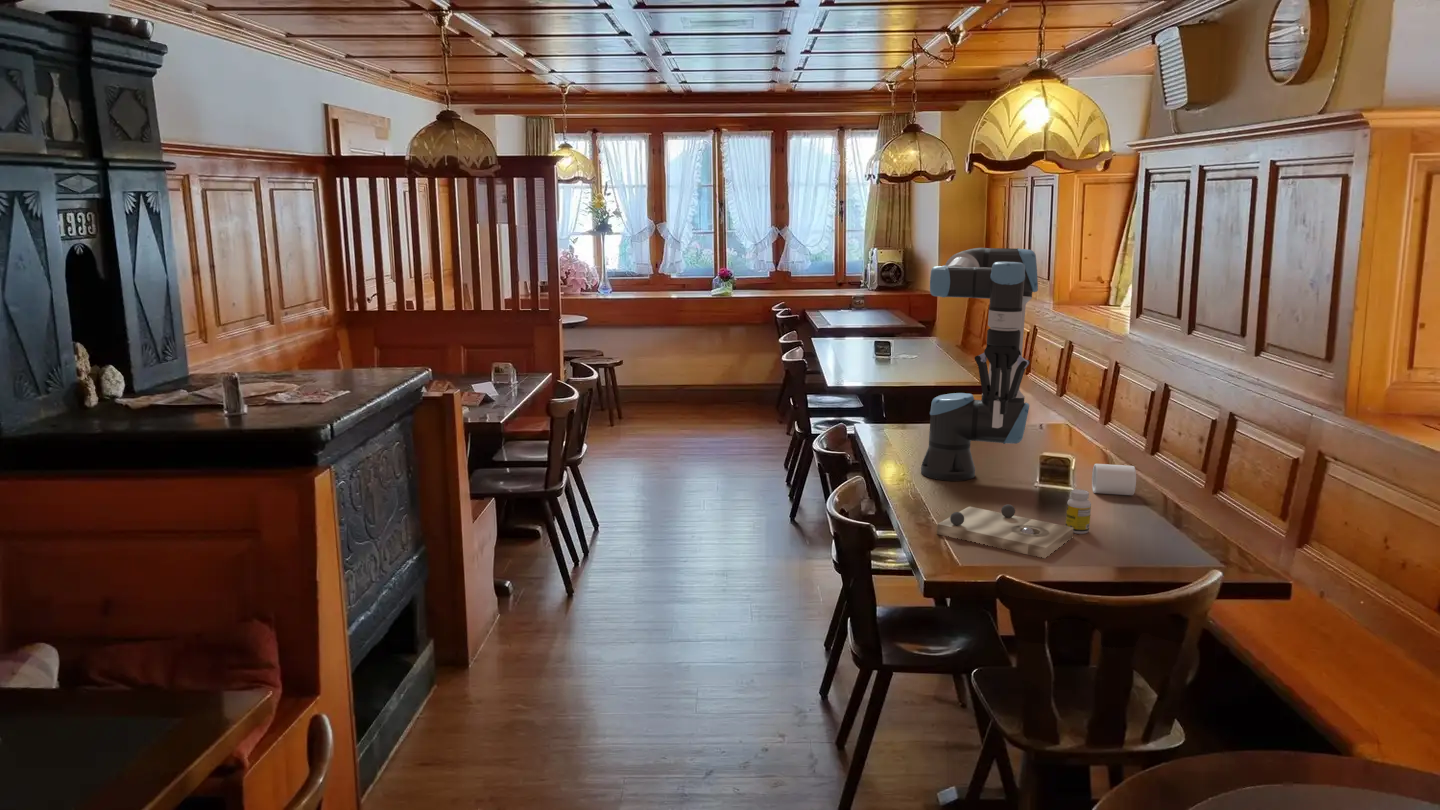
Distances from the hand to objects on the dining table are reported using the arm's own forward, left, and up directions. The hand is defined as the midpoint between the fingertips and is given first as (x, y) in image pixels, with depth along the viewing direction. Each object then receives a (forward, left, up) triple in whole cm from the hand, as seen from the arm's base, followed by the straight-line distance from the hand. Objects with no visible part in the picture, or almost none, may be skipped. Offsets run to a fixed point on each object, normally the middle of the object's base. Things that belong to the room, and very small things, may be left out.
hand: (997, 426), depth 241 cm
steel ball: (+11, -6, -23) cm, 26 cm away
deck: (+6, -6, -24) cm, 26 cm away
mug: (+14, +49, -25) cm, 57 cm away
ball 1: (-3, -13, -20) cm, 24 cm away
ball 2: (+4, 0, -20) cm, 21 cm away
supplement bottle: (+18, +9, -25) cm, 32 cm away
